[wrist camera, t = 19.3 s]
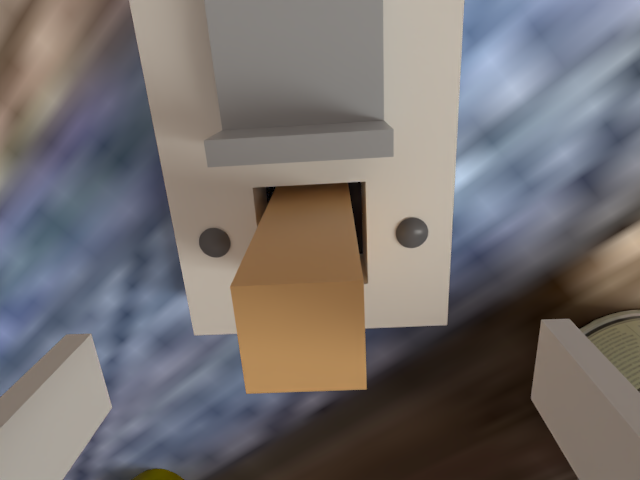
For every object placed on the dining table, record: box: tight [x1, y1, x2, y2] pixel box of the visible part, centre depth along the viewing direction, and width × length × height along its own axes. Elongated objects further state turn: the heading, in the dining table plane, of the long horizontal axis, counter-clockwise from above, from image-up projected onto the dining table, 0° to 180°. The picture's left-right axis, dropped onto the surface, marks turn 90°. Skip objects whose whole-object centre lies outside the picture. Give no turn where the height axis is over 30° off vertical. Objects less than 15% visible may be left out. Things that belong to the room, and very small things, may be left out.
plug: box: [230, 183, 367, 394], centre depth 20 cm, size 4×4×13 cm
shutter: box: [204, 0, 394, 167], centre depth 17 cm, size 7×7×4 cm
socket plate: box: [129, 0, 464, 335], centre depth 23 cm, size 18×14×4 cm
